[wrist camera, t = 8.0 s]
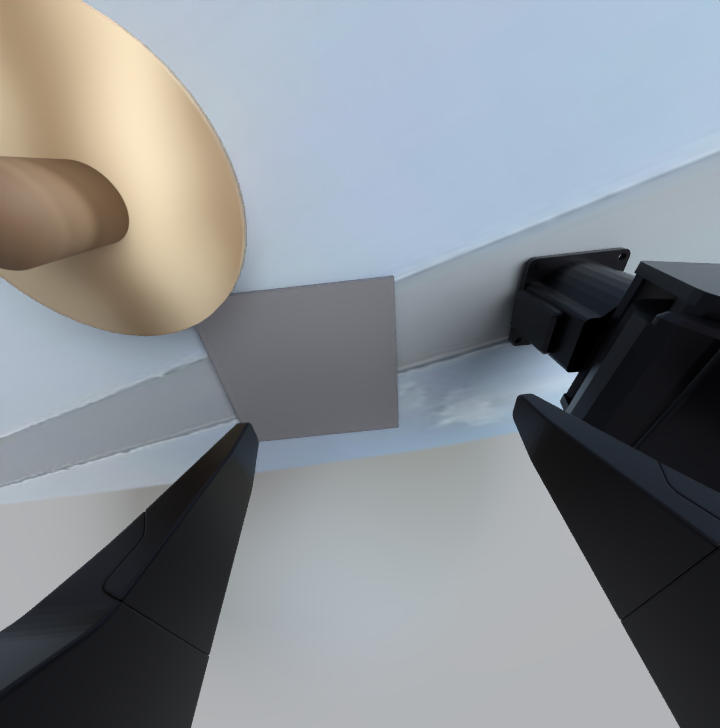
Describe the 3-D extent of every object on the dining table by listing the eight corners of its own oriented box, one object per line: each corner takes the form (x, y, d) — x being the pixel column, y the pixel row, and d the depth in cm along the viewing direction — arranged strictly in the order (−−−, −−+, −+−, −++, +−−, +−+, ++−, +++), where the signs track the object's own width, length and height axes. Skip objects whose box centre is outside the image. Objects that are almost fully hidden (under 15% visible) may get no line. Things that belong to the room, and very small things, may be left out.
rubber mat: (392, 275, 19) (394, 277, 19) (397, 423, 27) (398, 427, 26) (186, 298, 19) (183, 301, 19) (251, 438, 27) (250, 442, 27)
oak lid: (172, -46, 9) (25, -229, 5) (277, 315, 15) (253, 365, 11) (-202, 8, 9) (-642, -123, 5) (62, 340, 16) (-34, 397, 12)
